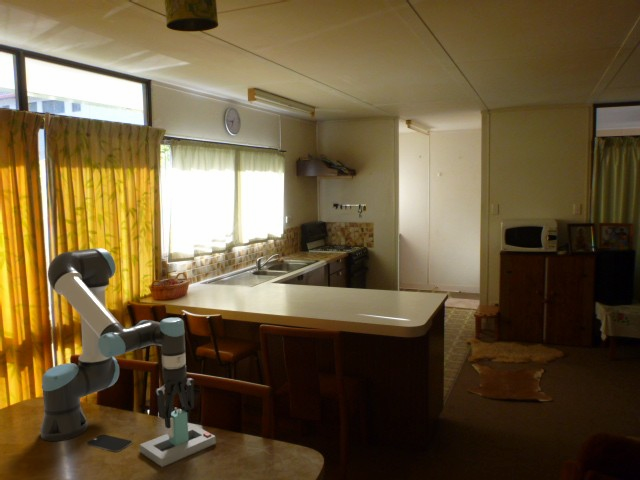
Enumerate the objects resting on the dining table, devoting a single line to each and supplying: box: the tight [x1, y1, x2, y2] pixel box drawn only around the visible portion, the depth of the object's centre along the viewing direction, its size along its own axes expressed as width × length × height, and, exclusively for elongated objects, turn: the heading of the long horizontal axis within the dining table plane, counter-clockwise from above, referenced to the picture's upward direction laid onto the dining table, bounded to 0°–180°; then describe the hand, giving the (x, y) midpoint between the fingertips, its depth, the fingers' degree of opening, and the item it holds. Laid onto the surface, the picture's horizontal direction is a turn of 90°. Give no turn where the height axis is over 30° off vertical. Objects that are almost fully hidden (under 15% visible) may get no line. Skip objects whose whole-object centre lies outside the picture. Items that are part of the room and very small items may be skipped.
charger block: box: [169, 407, 189, 446], centre depth 175 cm, size 4×4×11 cm
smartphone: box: [85, 434, 133, 453], centre depth 181 cm, size 8×1×15 cm
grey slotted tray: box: [139, 423, 217, 468], centre depth 176 cm, size 14×20×3 cm
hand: (177, 433), depth 176 cm, fingers closed on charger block, 4 cm apart
